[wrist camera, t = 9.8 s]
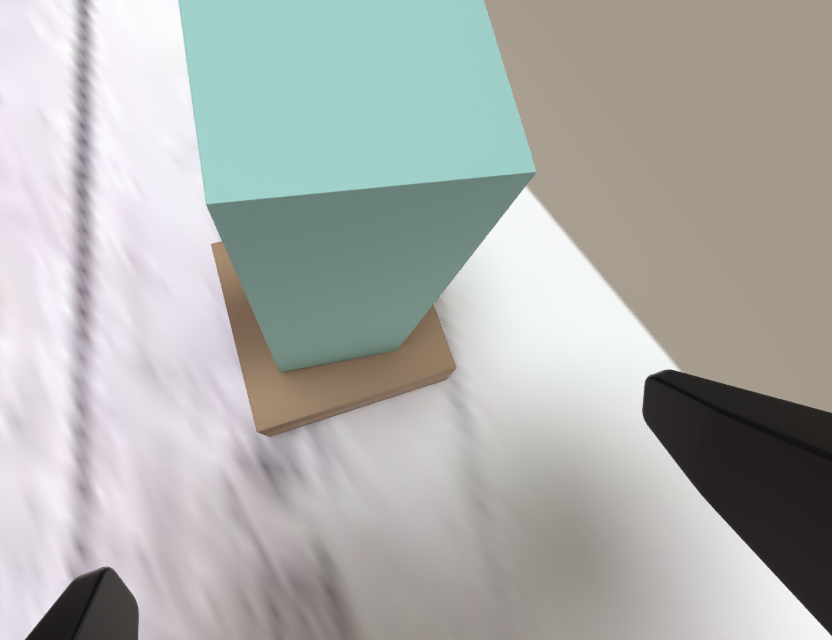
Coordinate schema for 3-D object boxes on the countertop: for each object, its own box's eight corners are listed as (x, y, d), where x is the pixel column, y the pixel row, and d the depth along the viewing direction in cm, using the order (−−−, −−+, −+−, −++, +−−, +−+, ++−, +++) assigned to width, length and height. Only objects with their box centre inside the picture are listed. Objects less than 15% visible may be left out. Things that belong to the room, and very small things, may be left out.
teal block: (397, 350, 19) (536, 171, 7) (279, 372, 18) (205, 204, 6) (374, 245, 20) (462, -69, 8) (261, 260, 19) (168, -80, 7)
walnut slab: (444, 381, 22) (456, 367, 19) (271, 437, 21) (257, 431, 18) (391, 231, 24) (394, 199, 22) (230, 272, 23) (211, 244, 20)
